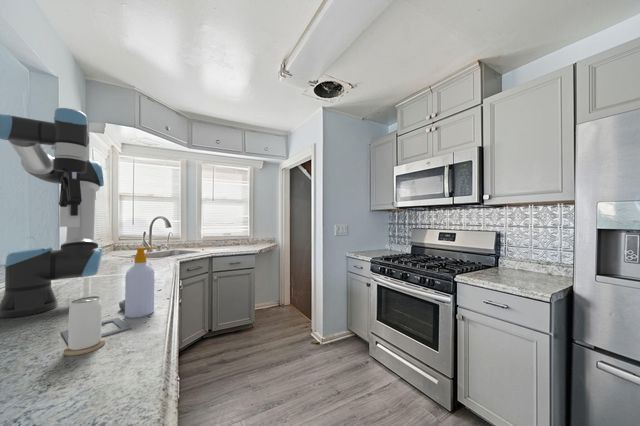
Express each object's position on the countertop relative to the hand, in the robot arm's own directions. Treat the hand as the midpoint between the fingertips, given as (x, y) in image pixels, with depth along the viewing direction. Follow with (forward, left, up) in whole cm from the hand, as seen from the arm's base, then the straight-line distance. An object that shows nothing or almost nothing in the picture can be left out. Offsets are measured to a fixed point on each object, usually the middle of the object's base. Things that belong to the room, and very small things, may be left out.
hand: (69, 227), depth 81 cm
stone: (-6, +20, -32) cm, 38 cm away
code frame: (+8, +6, -32) cm, 33 cm away
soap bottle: (+2, +19, -32) cm, 37 cm away
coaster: (+20, +1, -32) cm, 37 cm away
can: (+20, +1, -31) cm, 37 cm away
